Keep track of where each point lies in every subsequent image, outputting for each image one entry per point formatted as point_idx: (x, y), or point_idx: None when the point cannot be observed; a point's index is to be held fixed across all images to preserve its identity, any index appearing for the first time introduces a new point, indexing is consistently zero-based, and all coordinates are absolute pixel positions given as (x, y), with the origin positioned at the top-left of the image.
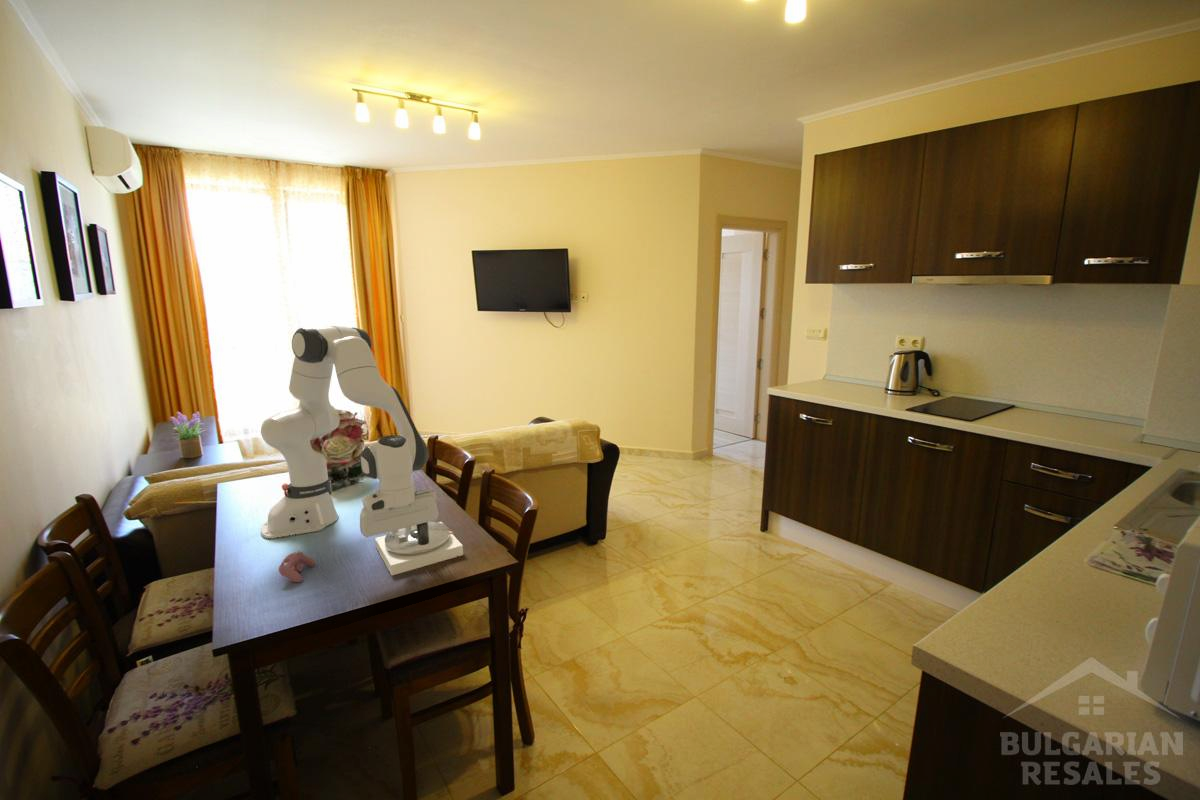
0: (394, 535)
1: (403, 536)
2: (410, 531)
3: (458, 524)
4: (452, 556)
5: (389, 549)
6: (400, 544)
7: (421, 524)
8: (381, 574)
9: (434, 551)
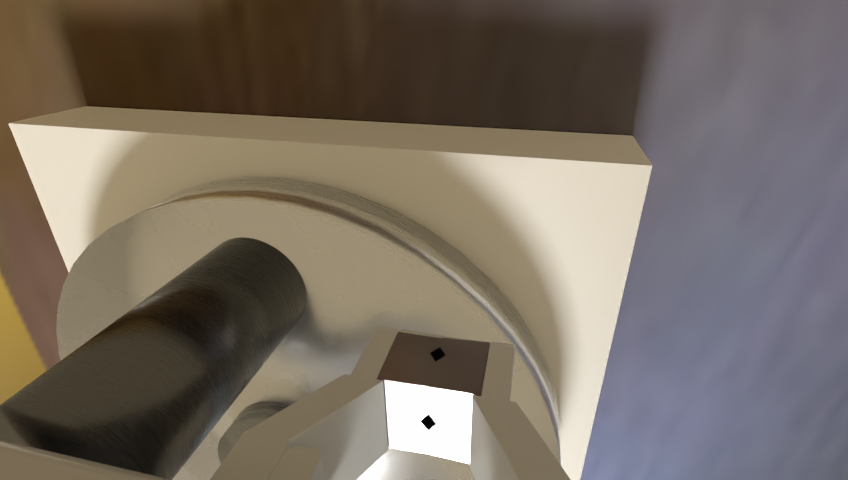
0: (551, 466)
1: (410, 402)
2: (281, 411)
3: None
4: (147, 113)
5: (555, 408)
6: None
7: (64, 441)
8: (690, 213)
9: (222, 168)
